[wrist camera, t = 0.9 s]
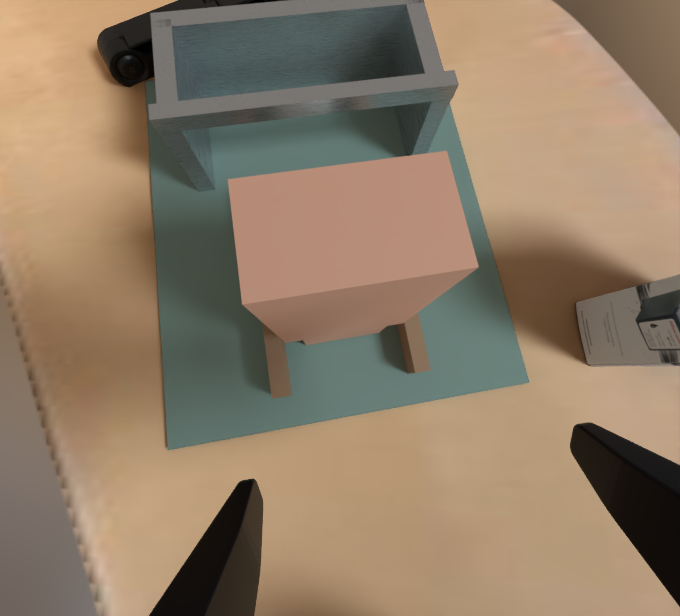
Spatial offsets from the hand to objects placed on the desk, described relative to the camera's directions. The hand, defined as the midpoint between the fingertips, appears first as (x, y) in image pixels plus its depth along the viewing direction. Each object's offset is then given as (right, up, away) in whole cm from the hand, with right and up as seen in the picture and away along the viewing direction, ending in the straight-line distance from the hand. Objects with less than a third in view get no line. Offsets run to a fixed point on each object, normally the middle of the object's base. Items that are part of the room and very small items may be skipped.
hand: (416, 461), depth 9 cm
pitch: (-3, +11, +15) cm, 19 cm away
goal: (-5, +18, +17) cm, 26 cm away
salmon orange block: (-2, +4, +14) cm, 15 cm away
